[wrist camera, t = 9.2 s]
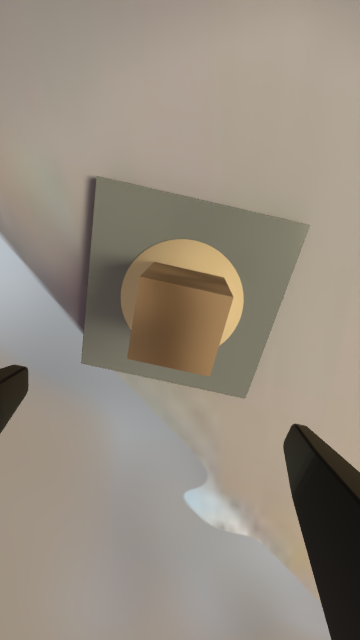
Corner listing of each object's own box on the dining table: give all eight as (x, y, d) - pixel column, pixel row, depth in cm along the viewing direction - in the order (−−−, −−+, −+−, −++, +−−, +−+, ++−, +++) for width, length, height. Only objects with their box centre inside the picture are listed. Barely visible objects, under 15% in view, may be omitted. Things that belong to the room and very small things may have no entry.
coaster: (303, 224, 18) (310, 225, 17) (242, 389, 23) (245, 399, 22) (102, 178, 18) (96, 175, 16) (86, 356, 23) (80, 363, 22)
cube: (224, 277, 18) (233, 297, 14) (206, 340, 20) (209, 376, 15) (154, 261, 18) (139, 276, 13) (143, 326, 20) (126, 358, 15)
